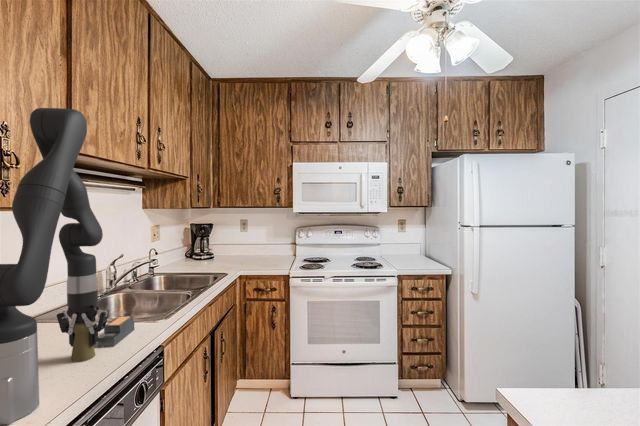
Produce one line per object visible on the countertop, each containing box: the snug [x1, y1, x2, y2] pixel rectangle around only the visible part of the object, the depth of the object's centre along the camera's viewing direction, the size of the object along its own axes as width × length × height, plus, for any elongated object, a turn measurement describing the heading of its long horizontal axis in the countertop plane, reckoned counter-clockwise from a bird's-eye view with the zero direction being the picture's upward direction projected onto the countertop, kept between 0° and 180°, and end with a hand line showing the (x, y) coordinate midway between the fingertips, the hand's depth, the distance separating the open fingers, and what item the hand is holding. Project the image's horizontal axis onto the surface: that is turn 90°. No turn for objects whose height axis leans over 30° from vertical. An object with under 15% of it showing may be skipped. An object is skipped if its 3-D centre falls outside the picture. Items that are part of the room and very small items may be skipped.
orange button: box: [107, 317, 130, 325], centre depth 115 cm, size 8×4×2 cm, turn 5°
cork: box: [70, 321, 96, 363], centre depth 99 cm, size 6×6×11 cm
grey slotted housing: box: [97, 315, 135, 348], centre depth 114 cm, size 14×5×6 cm, turn 5°
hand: (84, 344), depth 99 cm, fingers open, 4 cm apart
